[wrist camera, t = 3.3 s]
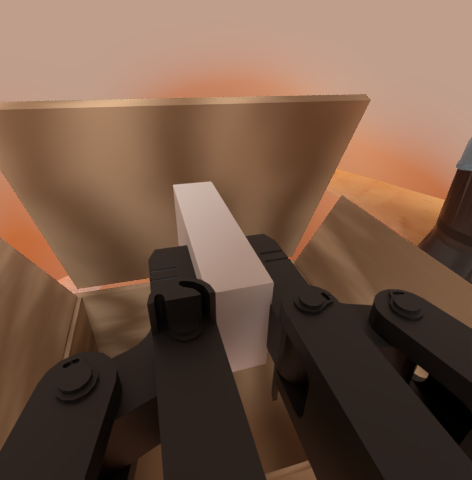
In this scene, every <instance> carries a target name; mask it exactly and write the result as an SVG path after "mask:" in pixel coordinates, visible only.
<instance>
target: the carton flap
mask: <svg viewBox="0 0 472 480" xmlns="http://www.w3.org/2000/svg"><path fill="white" fill-rule="evenodd" d="M369 102H370V99H369V98H368V96H367V95H365V94H360V95H317V96H316V95H312V96H267V97H266V96H265V97H222V98H221V97H218V98H171V99H125V100H124V99H121V100H77V101H75V100H74V101H26V102H0V170H1V171H2V173H3V175H4V176H5V178H6V179H7V181H8V182H9V184H10V185H11V187H12V188H13V190H14V192H15V193H16V195H17V196H18V198H19V199H20V201H21V202H22V204H23V205H24V207H25V209H26V210H27V212H28V213H29V215H30V216H31V218H32V219H33V221H34V222H35V224H36V225H37V227H38V229H39V230H40V232H41V233H42V235H43V236H44V238H45V239H46V241H47V243H48V244H49V246H50V247H51V249H52V250H53V252H54V253H55V255H56V256H57V258H58V259H59V261H60V263H61V264H62V266H63V267H64V269H65V270H66V272H67V273H68V275H69V276H70V278H71V280H72V281H73V283H74V284H75V286H76V287H77V289H80V288H86V287H93V286H100V285H106V284H112V283H119V282H126V281H133V280H139V279H146V278H150V276H149V264H148V259H149V258H150V256H151V254H152V253H153V251H154V250H155V249H162V248H170V247H177V246H179V243H178V232H177V222H176V212H175V202H174V191H173V185H176V184H187V183H199V182H210V181H211V182H212V183H213V185H214V187H215V188H216V190H217V191H218V193H219V195H220V196H221V198H222V199H223V201H224V203H225V204H226V206H227V208H228V209H229V211H230V212H231V214H232V216H233V217H234V219H235V221H236V222H237V224H238V225H239V227H240V229H241V230H242V232H243V233H244V235H245V236H250V235H257V234H265V235H267V236H268V237H270V238H272V239H274V240H275V241H276V242H277V243H278V245H279V246H280V247H281V249H282V251H284V252H285V254H286V255H287V256H288V257H292V256H293V254H294V252H295V250H296V248H297V246H298V244H299V242H300V240H301V238H302V236H303V234H304V232H305V230H306V228H307V226H308V224H309V222H310V220H311V218H312V216H313V214H314V212H315V210H316V208H317V206H318V204H319V202H320V200H321V198H322V196H323V194H324V192H325V190H326V188H327V186H328V184H329V182H330V180H331V178H332V176H333V174H334V172H335V170H336V168H337V166H338V164H339V162H340V160H341V158H342V156H343V154H344V152H345V150H346V148H347V146H348V144H349V142H350V140H351V138H352V136H353V134H354V132H355V130H356V128H357V126H358V124H359V122H360V120H361V118H362V116H363V114H364V112H365V110H366V108H367V106H368V104H369Z"/></svg>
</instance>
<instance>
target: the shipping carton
mask: <svg viewBox="0 0 472 480" xmlns="http://www.w3.org/2000/svg"><path fill="white" fill-rule="evenodd" d="M291 262H292V263H293V264H294V266H295V267H296V268H297V269H298V271H299V272H300V273H301V275H302V276H303V277H304V279H305V280H306V281H307V283H308V284H309V285H311V286H316V287H320V288H322V289H324V290H326V291H328V292H330V293H331V294H332V295H333V296H334V297H335V298H336V299H337V300H338V301H339V302H340V303H346V304H361V305H372V304H373V301H374V298H375V295H376V294H378V293H379V292H380V291H383V290H387V289H399V290H404V291H407V292H411V293H414V294H416V295H418V296H420V297H422V298H424V299H425V300H427V301H428V302H430V303H432V304H433V305H435V306H436V307H438V308H440V309H441V310H443V311H444V312H446V313H448V314H449V315H451V316H452V317H454V318H456V319H457V320H459V321H460V322H462V323H464V324H465V325H467V326H468V327H470V328H472V284H470V283H469V282H467V281H466V280H464V279H463V278H462V277H460V276H459V275H457V274H456V273H454V272H453V271H451V270H450V269H448V268H447V267H446V266H444V265H443V264H441V263H440V262H438V261H437V260H435V259H434V258H433V257H431V256H430V255H428V254H427V253H425V252H424V251H422V250H421V249H419V248H418V247H417V246H415V245H414V244H412V243H411V242H409V241H408V240H406V239H405V238H404V237H402V236H401V235H399V234H397V233H396V232H395V231H393V230H392V229H390V228H389V227H388V226H386V225H385V224H383V223H382V222H380V221H379V220H377V219H376V218H375V217H373V216H372V215H370V214H369V213H367V212H366V211H364V210H363V209H361V208H360V207H359V206H357V205H356V204H354V203H353V202H351V201H350V200H348V199H347V198H345V197H344V196H341V197H340V199H339V200H338V202H337V203H336V204H335V206H334V207H333V209H332V210H331V211H330V213H329V214H328V216H327V217H326V219H325V220H324V222H323V223H322V224H321V226H320V227H319V229H318V230H317V231H316V233H315V234H314V236H313V237H312V238H311V240H310V242H309V243H308V244H307V246H306V247H305V248H304V250H303V251H302V253H301V254H300V255H299V257H298V258H297V260H296V261H295V260H292V261H291ZM150 293H151V289H150V282H149V283H142V284H136V285H130V286H123V287H116V288H110V289H103V290H97V291H90V292H84V293H77V294H75V295H74V294H73V293H72V292H71V291H69V290H68V289H67V288H65V287H64V286H63V285H61V284H60V283H59V282H58V281H56V280H55V279H54V278H52V277H51V276H50V275H48V274H47V273H46V272H44V271H43V270H42V269H41V268H39V267H38V266H37V265H35V264H34V263H33V262H31V261H30V260H29V259H27V258H26V257H25V256H24V255H22V254H21V253H20V252H18V251H17V250H16V249H14V248H13V247H12V246H11V245H9V244H8V243H7V242H5V241H4V240H3V239H1V238H0V450H1V448H2V447H3V445H4V443H5V441H6V439H7V438H8V436H9V434H10V432H11V430H12V429H13V427H14V425H15V423H16V421H17V420H18V418H19V416H20V414H21V412H22V411H23V409H24V407H25V405H26V403H27V402H28V400H29V398H30V396H31V394H32V393H33V391H34V389H35V387H36V385H37V384H38V382H39V381H40V380H41V379H42V377H43V376H44V375H45V373H46V372H47V371H48V370H49V369H51V368H52V367H53V366H54V365H56V364H57V363H58V362H60V361H61V360H63V359H65V358H68V357H70V356H72V355H74V354H77V353H83V352H89V351H92V352H99V353H104V354H105V355H107V356H108V357H110V358H113V357H115V356H117V355H119V354H121V353H124V352H126V351H128V350H129V349H131V348H133V347H134V346H136V345H137V344H139V343H140V342H141V341H142V340H143V339H144V338H145V337H146V335H147V334H148V333H149V331H150V329H151V325H150V320H149V314H148V308H147V301H148V297H149V295H150ZM273 372H274V362H273V360H272V358H271V356H270V353H269V351H268V352H267V363H266V364H263V365H259V366H255V367H251V368H247V369H243V370H239V371H234V372H232V373H233V376H234V379H235V382H236V385H237V388H238V392H239V395H240V398H241V401H242V404H243V407H244V410H245V414H246V417H247V420H248V423H249V426H250V429H251V432H252V435H253V439H254V442H255V445H256V448H257V451H258V454H259V457H260V461H261V464H262V467H263V470H264V473H265V476H266V479H267V480H317V479H316V477H315V474H314V472H313V470H312V467H311V465H310V463H309V460H308V458H307V456H306V454H305V451H304V449H303V447H302V444H301V442H300V440H299V437H298V435H297V433H296V430H295V428H294V426H293V423H292V421H291V419H290V416H289V414H288V412H287V409H286V407H285V405H284V402H283V400H282V398H281V396H280V393H279V391H278V395H277V400H275V401H273V400H272V394H271V390H272V381H273ZM415 374H416V375H418V376H420V377H423V378H427V376H428V373H427V372H426V371H425V370H423V369H422V368H421V367H420V366H417V368H416V370H415ZM134 480H163V467H162V454H161V444H159V445H158V446H156V447H155V448H153V449H152V450H150V451H149V452H147V453H146V454H144V455H143V456H141V457H140V458H138V462H137V467H136V472H135V477H134Z"/></svg>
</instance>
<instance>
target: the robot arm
mask: <svg viewBox="0 0 472 480" xmlns="http://www.w3.org/2000/svg"><path fill="white" fill-rule="evenodd" d="M456 167H457V168H458V169H457V171H456V174H455V177H454V179H453V182H452V184H451V187H450V189H449V192H448V194H447V197H446V199H445V202H444V204H443V207H442V209H441V212H440V215H439V217H438V220H437V223H436V225H435V227H434V228H433V229H432V230H431V231H430V233H429V234H428V235H427V236H426V237H425V238H424V239H423V240H422V242H421V243H420V244H419V245H418V246H417V247H418V248H419V249H421V250H422V251H424V252H425V253H427V254H428V255H430V256H431V257H433V258H434V259H435V260H437V261H438V262H440V263H441V264H443V265H444V266H446V267H447V268H448V269H450V270H451V271H453V272H454V273H456V274H457V275H459V276H460V277H462V278H463V279H464V280H466V281H467V282H469V283H470V284H472V138H471V139H470V140H469V142H468V144H467V146H466V148H465V151H464V153H463V155H462V157H461V159H460V160H459V161H458V163H457V165H456ZM173 191H174V202H175V212H176V222H177V232H178V243H179V246H177V247H170V248H162V249H155V250H154V251H153V253H152V254H151V256H150V258H149V259H148V264H149V276H150V289H151V293H150V295H149V297H148V301H147V308H148V314H149V320H150V325H151V329H150V331H149V333H148V334H147V335H146V337H145V338H144V339H143V340H142V341H141V342H140V343H139V344H137V345H136V346H134V347H133V348H131V349H129V350H128V351H126V352H124V353H121V354H119V355H117V356H115V357H113V358H110V357H108V356H107V355H105V354H104V353H99V352H92V351H89V352H83V353H77V354H74V355H72V356H70V357H68V358H65V359H63V360H61V361H60V362H58V363H57V364H56V365H54V366H53V367H52V368H51V369H49V370H48V371H47V372H46V373H45V375H44V376H43V377H42V379H41V380H40V381H39V382H38V384H37V385H36V387H35V389H34V391H33V393H32V394H31V396H30V398H29V400H28V402H27V403H26V405H25V407H24V409H23V411H22V412H21V414H20V416H19V418H18V420H17V421H16V423H15V425H14V427H13V429H12V430H11V432H10V434H9V436H8V438H7V439H6V441H5V443H4V445H3V447H2V448H1V450H0V480H134V477H135V472H136V467H137V462H138V458H140V457H141V456H143V455H144V454H146V453H147V452H149V451H150V450H152V449H153V448H155V447H156V446H158V445H159V444H161V454H162V467H163V480H267V479H266V476H265V473H264V470H263V467H262V464H261V461H260V457H259V454H258V451H257V448H256V445H255V442H254V439H253V435H252V432H251V429H250V426H249V423H248V420H247V417H246V414H245V410H244V407H243V404H242V401H241V398H240V395H239V392H238V388H237V385H236V382H235V379H234V376H233V373H232V372H234V371H239V370H243V369H247V368H251V367H255V366H259V365H263V364H266V363H267V352H268V351H269V353H270V356H271V358H272V360H273V362H274V372H273V381H272V390H271V394H272V400H273V401H275V400H277V395H278V391H279V393H280V396H281V398H282V400H283V402H284V405H285V407H286V409H287V412H288V414H289V416H290V419H291V421H292V423H293V426H294V428H295V430H296V433H297V435H298V437H299V440H300V442H301V444H302V447H303V449H304V451H305V454H306V456H307V458H308V460H309V463H310V465H311V467H312V470H313V472H314V474H315V477H316V479H317V480H472V328H470V327H468V326H467V325H465V324H464V323H462V322H460V321H459V320H457V319H456V318H454V317H452V316H451V315H449V314H448V313H446V312H444V311H443V310H441V309H440V308H438V307H436V306H435V305H433V304H432V303H430V302H428V301H427V300H425V299H424V298H422V297H420V296H418V295H416V294H414V293H411V292H407V291H404V290H399V289H387V290H383V291H380V292H379V293H378V294H376V295H375V298H374V301H373V304H372V305H361V304H346V303H340V302H339V301H338V300H337V299H336V298H335V297H334V296H333V295H332V294H331V293H330V292H328V291H326V290H324V289H322V288H320V287H316V286H311V285H309V284H308V283H307V281H306V280H305V279H304V277H303V276H302V275H301V273H300V272H299V271H298V269H297V268H296V267H295V266H294V264H293V263H292V262H291V260H290V259H288V256H287V255H286V254H285V252H284V251H282V249H281V247H280V246H279V245H278V243H277V242H276V241H275V240H274V239H272V238H270V237H268V236H267V235H265V234H257V235H250V236H245V235H244V233H243V232H242V230H241V229H240V227H239V225H238V224H237V222H236V221H235V219H234V217H233V216H232V214H231V212H230V211H229V209H228V208H227V206H226V204H225V203H224V201H223V199H222V198H221V196H220V195H219V193H218V191H217V190H216V188H215V187H214V185H213V183H212V182H211V181H210V182H199V183H187V184H176V185H173ZM417 366H420V367H421V368H422V369H423V370H425V371H426V372H427V373H428V376H427V378H423V377H420V376H418V375H416V374H415V370H416V368H417Z"/></svg>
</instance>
